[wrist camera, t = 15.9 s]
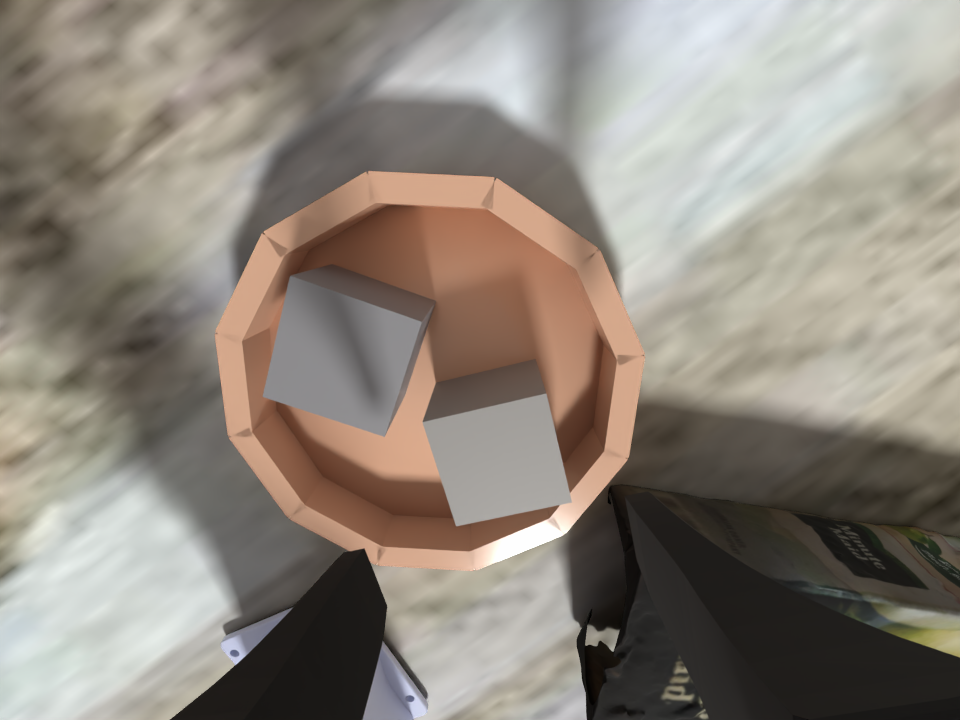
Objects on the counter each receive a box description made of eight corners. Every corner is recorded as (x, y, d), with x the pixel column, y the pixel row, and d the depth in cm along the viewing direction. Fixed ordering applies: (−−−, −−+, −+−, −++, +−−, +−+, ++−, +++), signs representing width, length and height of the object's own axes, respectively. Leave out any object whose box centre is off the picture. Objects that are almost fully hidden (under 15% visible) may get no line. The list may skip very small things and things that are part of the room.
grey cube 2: (535, 358, 19) (546, 393, 15) (557, 449, 20) (571, 502, 17) (435, 382, 20) (422, 422, 16) (462, 470, 21) (456, 526, 17)
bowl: (671, 444, 21) (699, 480, 18) (376, 568, 24) (360, 617, 21) (520, 101, 17) (526, 77, 14) (185, 294, 20) (132, 307, 17)
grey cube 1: (436, 300, 19) (421, 321, 15) (405, 395, 20) (384, 437, 16) (332, 263, 18) (289, 275, 14) (307, 362, 20) (262, 396, 16)
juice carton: (1012, 533, 22) (1194, 646, 16) (922, 678, 25) (1049, 818, 20) (607, 470, 22) (646, 561, 16) (566, 624, 25) (586, 748, 19)
